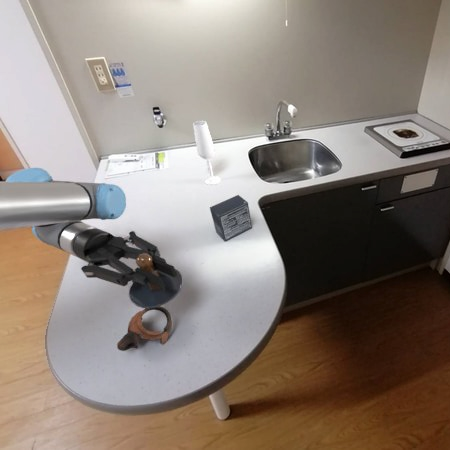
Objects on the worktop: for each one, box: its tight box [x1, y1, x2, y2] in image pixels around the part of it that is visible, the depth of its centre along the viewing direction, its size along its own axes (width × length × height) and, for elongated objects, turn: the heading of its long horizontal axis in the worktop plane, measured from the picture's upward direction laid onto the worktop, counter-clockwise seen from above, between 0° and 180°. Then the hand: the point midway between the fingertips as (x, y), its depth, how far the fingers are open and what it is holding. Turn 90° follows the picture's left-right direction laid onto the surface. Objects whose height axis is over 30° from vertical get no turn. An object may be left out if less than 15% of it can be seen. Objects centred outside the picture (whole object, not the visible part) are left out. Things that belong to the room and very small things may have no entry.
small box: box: [209, 194, 253, 242], centre depth 98 cm, size 11×6×10 cm, turn 130°
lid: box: [128, 253, 184, 309], centre depth 64 cm, size 11×11×10 cm
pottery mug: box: [116, 305, 173, 352], centre depth 70 cm, size 12×10×8 cm
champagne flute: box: [192, 120, 222, 186], centre depth 117 cm, size 7×7×24 cm
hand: (168, 277), depth 61 cm, fingers closed on lid, 3 cm apart
